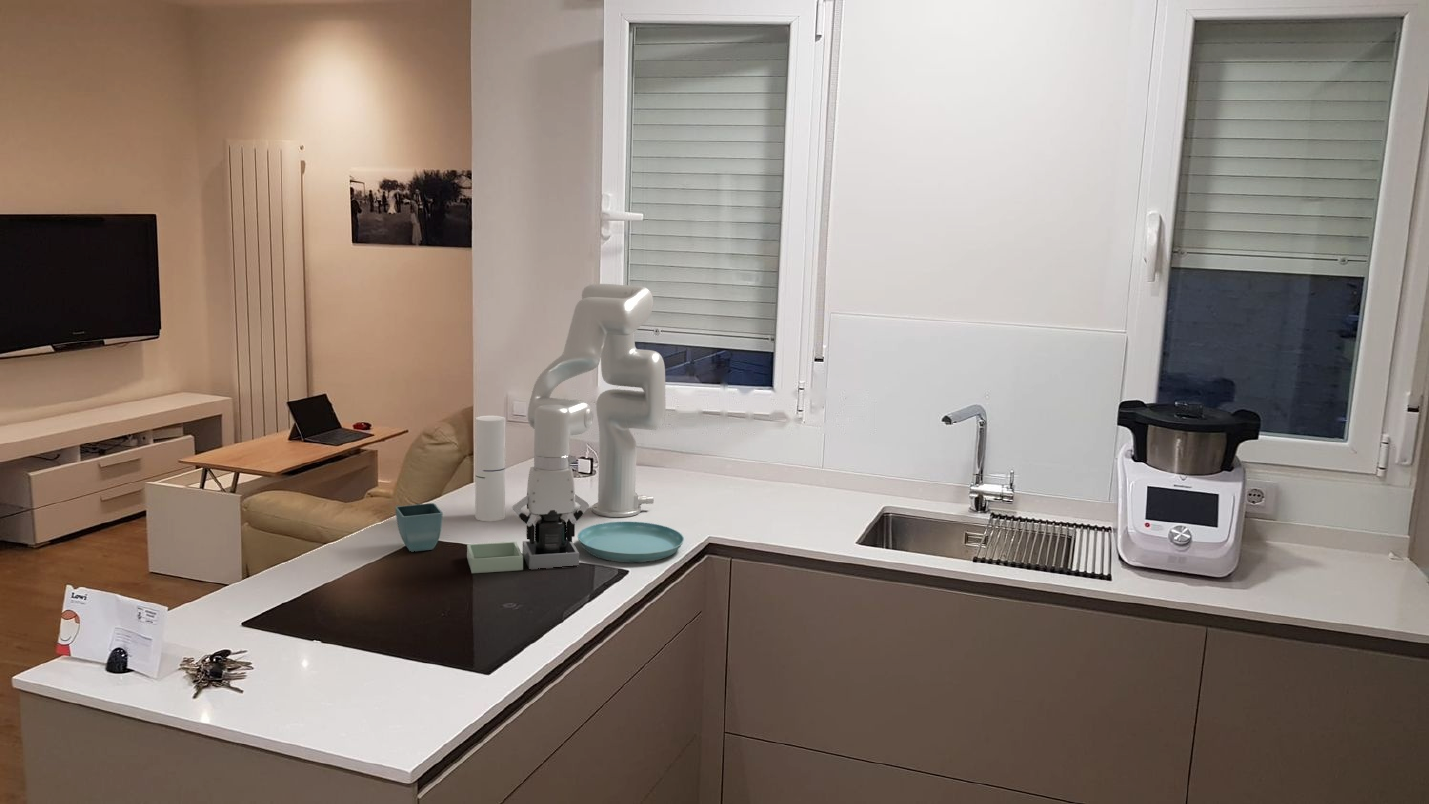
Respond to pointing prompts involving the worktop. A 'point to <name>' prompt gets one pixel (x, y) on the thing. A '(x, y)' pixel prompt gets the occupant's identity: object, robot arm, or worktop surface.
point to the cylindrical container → (490, 468)
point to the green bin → (494, 557)
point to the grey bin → (550, 557)
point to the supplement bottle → (550, 534)
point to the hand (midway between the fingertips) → (550, 540)
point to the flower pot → (419, 525)
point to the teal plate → (630, 541)
